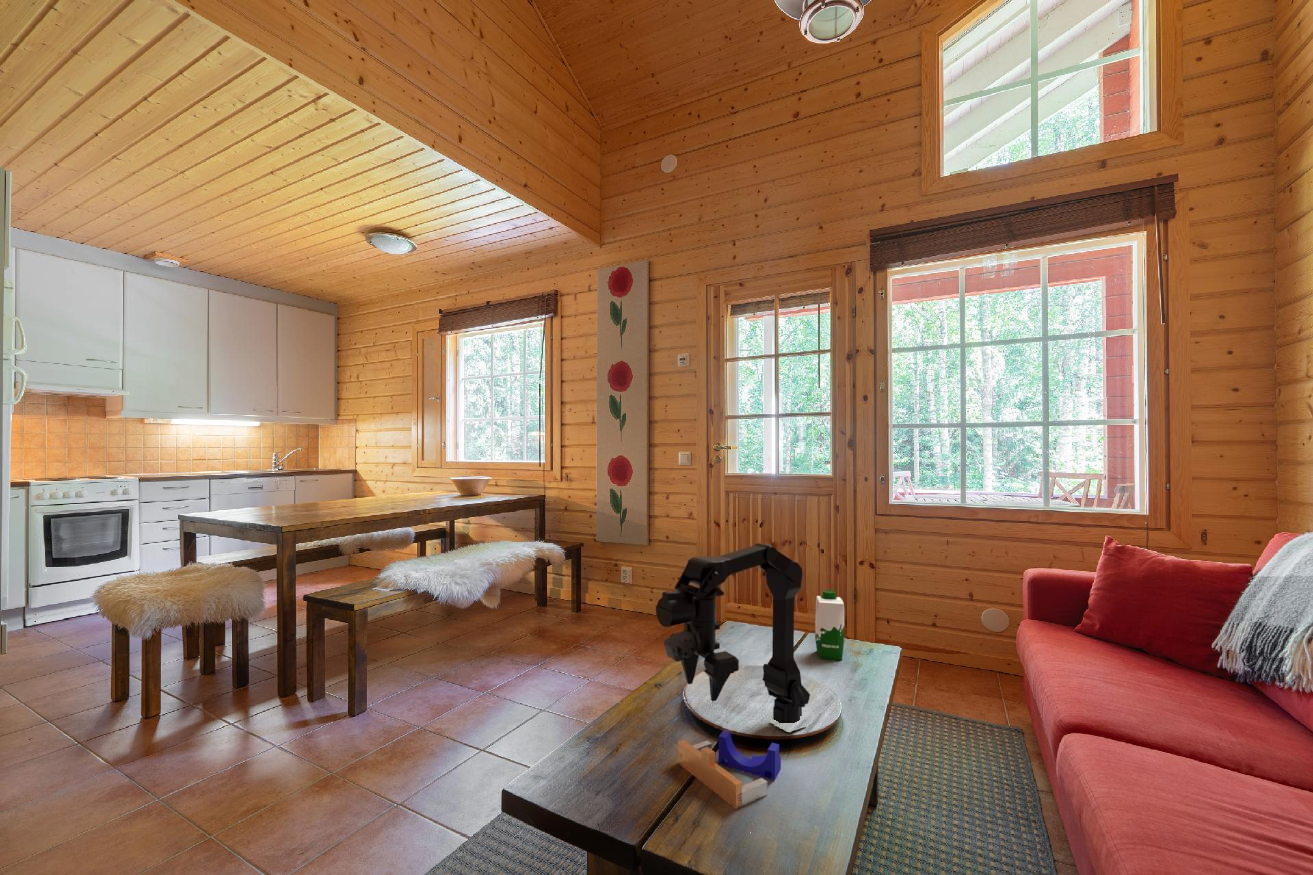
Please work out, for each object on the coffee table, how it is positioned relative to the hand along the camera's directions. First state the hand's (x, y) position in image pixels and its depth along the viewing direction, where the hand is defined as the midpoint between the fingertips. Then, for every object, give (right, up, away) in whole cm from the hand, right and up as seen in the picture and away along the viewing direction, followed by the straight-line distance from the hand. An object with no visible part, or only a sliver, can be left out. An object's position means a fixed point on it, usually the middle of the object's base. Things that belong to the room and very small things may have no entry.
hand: (701, 691), depth 121 cm
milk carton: (+46, -16, +62) cm, 79 cm away
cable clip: (+10, -15, -3) cm, 18 cm away
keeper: (+3, -14, -7) cm, 16 cm away
